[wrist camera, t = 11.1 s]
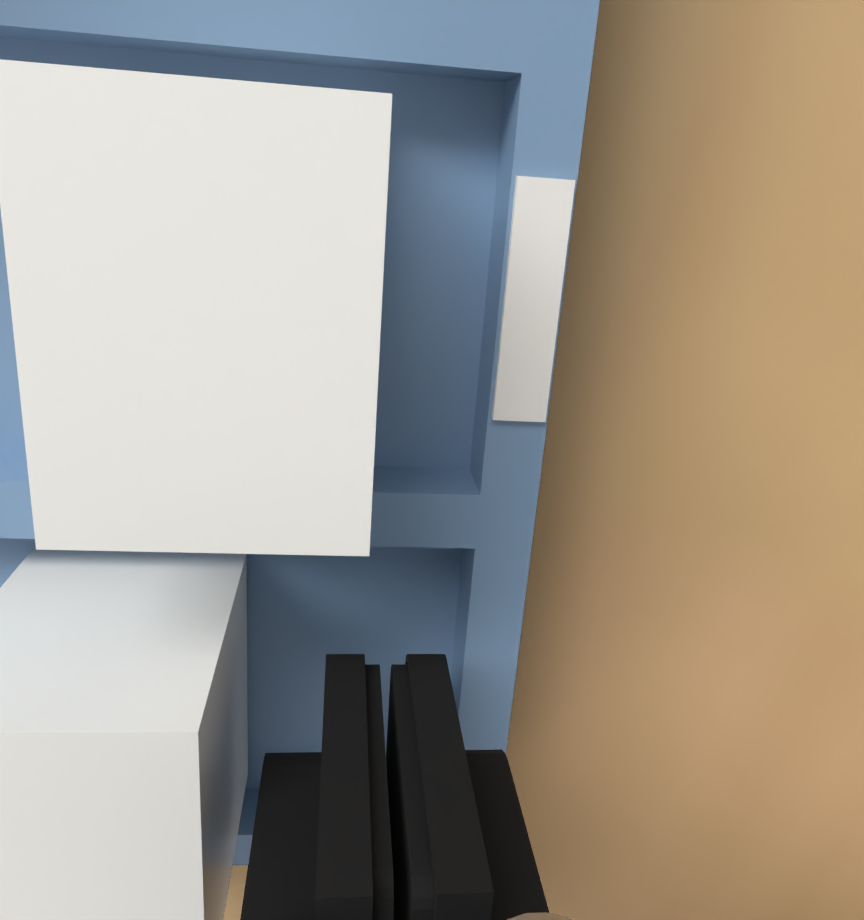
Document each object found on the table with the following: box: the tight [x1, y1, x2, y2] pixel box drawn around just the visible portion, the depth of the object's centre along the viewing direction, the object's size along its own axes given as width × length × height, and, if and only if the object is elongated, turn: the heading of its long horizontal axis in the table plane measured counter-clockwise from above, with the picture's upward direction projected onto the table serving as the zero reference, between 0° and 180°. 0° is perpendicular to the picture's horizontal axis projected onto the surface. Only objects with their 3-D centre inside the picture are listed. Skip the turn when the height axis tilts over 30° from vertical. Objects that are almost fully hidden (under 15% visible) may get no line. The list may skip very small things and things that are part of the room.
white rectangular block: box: [0, 59, 392, 556], centre depth 9 cm, size 3×4×4 cm
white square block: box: [0, 549, 248, 920], centre depth 10 cm, size 3×4×4 cm
